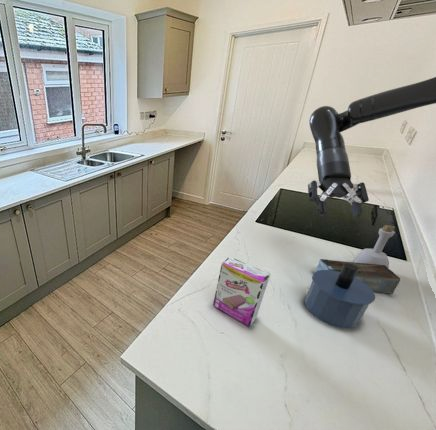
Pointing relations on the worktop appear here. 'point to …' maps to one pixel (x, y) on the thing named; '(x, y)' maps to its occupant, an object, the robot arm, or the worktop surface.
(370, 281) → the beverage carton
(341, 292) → the lid
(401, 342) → the worktop surface
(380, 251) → the potion bottle
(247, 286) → the candy bar box
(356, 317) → the pot
